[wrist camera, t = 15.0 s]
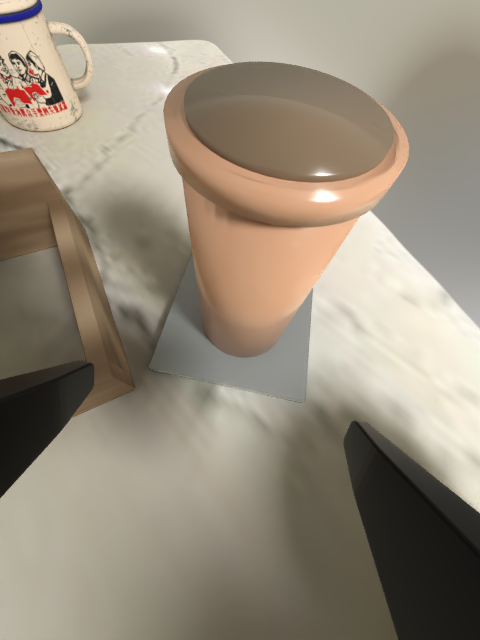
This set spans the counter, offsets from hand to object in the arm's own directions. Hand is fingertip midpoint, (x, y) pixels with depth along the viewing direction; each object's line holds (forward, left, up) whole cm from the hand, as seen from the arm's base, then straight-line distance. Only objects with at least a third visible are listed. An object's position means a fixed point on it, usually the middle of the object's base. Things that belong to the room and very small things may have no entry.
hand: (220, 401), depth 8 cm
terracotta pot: (+7, 0, -8) cm, 11 cm away
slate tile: (+8, 0, -9) cm, 12 cm away
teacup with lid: (+30, +29, -9) cm, 42 cm away
